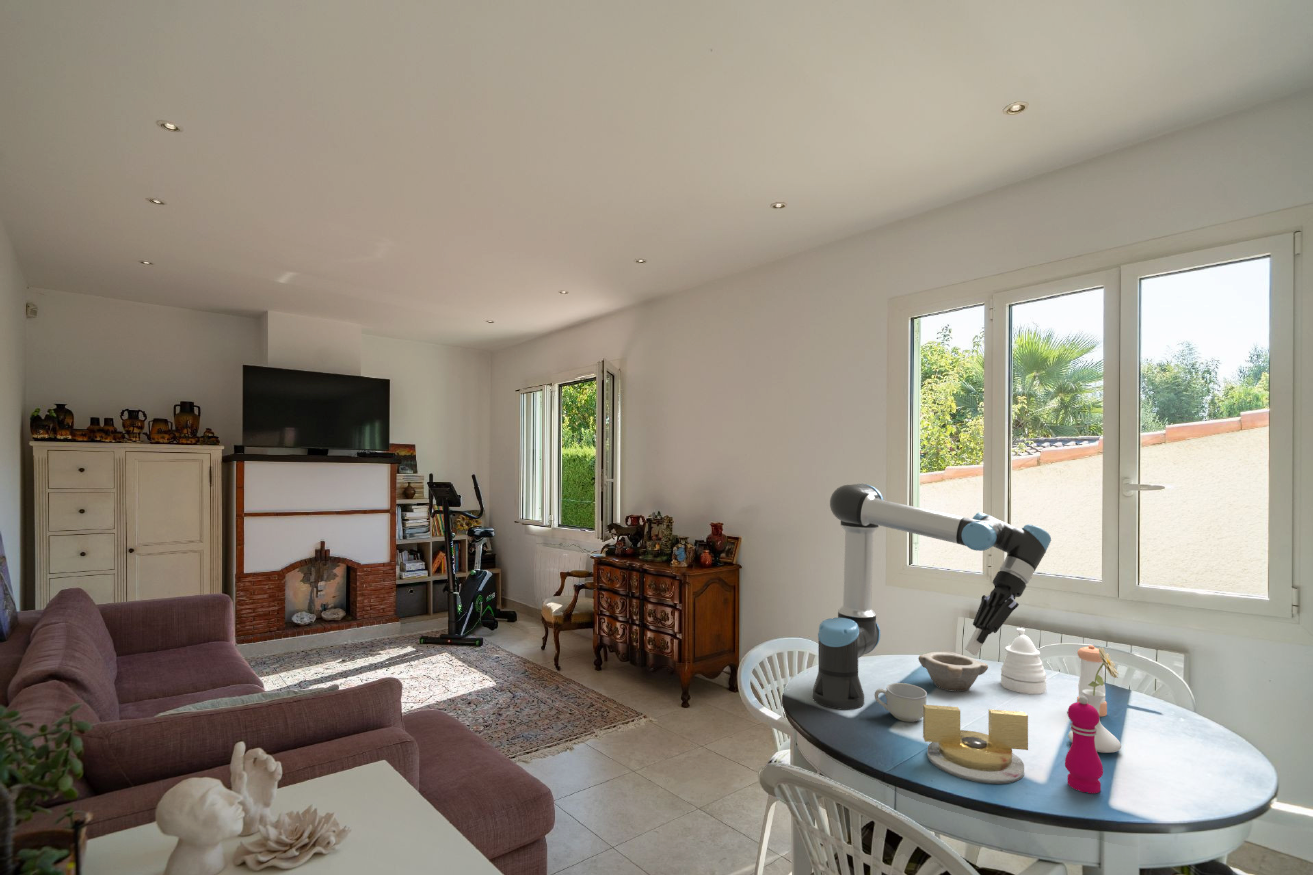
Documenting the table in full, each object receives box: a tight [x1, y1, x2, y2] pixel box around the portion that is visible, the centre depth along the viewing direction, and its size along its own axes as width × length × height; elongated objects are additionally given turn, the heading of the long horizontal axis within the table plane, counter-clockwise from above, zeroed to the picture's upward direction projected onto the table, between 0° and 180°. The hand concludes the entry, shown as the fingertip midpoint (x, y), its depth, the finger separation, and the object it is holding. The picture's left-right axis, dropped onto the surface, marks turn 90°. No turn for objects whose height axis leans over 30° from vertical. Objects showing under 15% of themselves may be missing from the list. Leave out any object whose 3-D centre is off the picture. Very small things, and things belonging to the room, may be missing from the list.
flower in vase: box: [1067, 647, 1122, 754], centre depth 172 cm, size 13×11×25 cm
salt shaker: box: [1076, 644, 1108, 717], centre depth 196 cm, size 7×7×19 cm
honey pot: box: [1000, 627, 1047, 695], centre depth 217 cm, size 13×13×18 cm
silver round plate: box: [927, 742, 1025, 785], centre depth 162 cm, size 21×21×2 cm
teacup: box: [874, 682, 928, 723], centre depth 190 cm, size 14×11×8 cm
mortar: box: [917, 651, 989, 692], centre depth 216 cm, size 17×17×9 cm
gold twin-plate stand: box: [922, 704, 1029, 770], centre depth 162 cm, size 18×17×10 cm
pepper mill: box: [1064, 696, 1104, 794], centre depth 150 cm, size 7×7×20 cm
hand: (970, 652), depth 177 cm, fingers closed
